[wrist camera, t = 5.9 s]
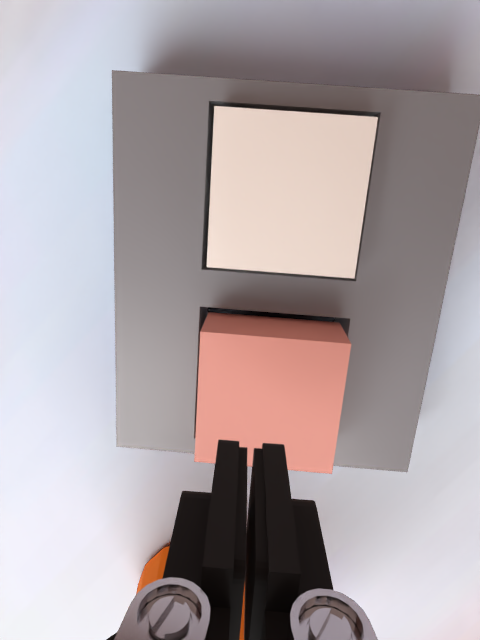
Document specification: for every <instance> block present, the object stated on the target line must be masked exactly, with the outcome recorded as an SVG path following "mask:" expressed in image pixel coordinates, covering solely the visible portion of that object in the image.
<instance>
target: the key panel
mask: <svg viewBox="0 0 480 640" xmlns="http://www.w3.org/2000/svg"><path fill="white" fill-rule="evenodd" d="M214 106H222V107H237V108H252V109H266V110H281V111H296V112H310V113H325V114H340V115H354V116H369V117H378V121H377V128H376V134H375V141H374V148H373V155H372V162H371V169H370V176H369V182H368V189H367V196H366V203H365V210H364V217H363V224H362V230H361V237H360V244H359V251H358V258H357V265H356V271H355V278H341V277H328V276H315V275H302V274H289V273H277V272H264V271H251V270H238V269H225V268H212V267H207V248H208V227H209V206H210V185H211V164H212V144H213V123H214ZM112 114H113V195H114V275H115V355H116V435H117V447H128V448H139V449H150V450H162V451H173V452H184V453H195V437H196V415H197V393H198V371H199V350H200V331H201V329H202V327H203V324H204V322H205V319H206V317H207V315H208V307H211V308H224V309H236V310H249V311H261V312H274V313H287V314H299V315H312V316H324V317H335V321H334V322H339V323H340V324H341V326H342V328H343V330H344V332H345V333H346V335H347V337H348V339H349V341H350V342H351V350H350V357H349V363H348V370H347V376H346V383H345V390H344V396H343V403H342V410H341V416H340V423H339V430H338V436H337V443H336V450H335V456H334V463H333V466H343V467H354V468H366V469H377V470H388V471H400V472H407V471H408V467H409V462H410V457H411V452H412V447H413V443H414V438H415V433H416V428H417V423H418V418H419V414H420V409H421V404H422V399H423V394H424V390H425V385H426V380H427V375H428V370H429V365H430V361H431V356H432V351H433V346H434V341H435V336H436V332H437V327H438V322H439V317H440V312H441V308H442V303H443V298H444V293H445V288H446V283H447V279H448V274H449V269H450V264H451V259H452V255H453V250H454V245H455V240H456V235H457V230H458V226H459V221H460V216H461V211H462V206H463V202H464V197H465V192H466V187H467V182H468V177H469V173H470V168H471V163H472V158H473V153H474V148H475V144H476V139H477V134H478V129H479V124H480V95H475V94H460V93H445V92H430V91H415V90H400V89H385V88H370V87H355V86H340V85H325V84H310V83H295V82H279V81H264V80H249V79H234V78H219V77H204V76H189V75H174V74H159V73H144V72H129V71H114V70H112Z"/></svg>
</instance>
